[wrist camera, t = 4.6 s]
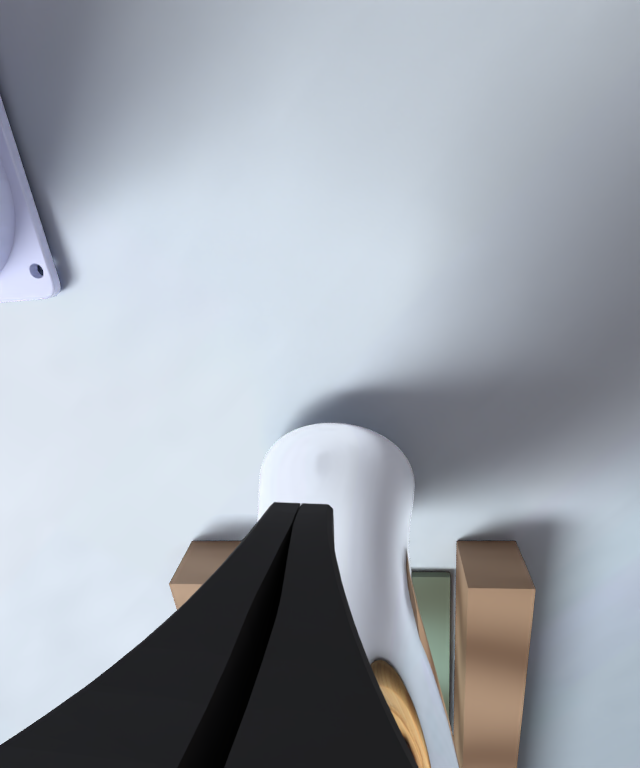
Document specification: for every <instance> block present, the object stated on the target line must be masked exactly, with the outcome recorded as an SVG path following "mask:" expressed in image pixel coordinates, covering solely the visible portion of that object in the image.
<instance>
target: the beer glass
mask: <svg viewBox="0 0 640 768" xmlns="http://www.w3.org/2000/svg"><path fill="white" fill-rule="evenodd" d="M414 490H415V483H414V474H413V471H412V468H411V465H410V463H409V461H408V459H407V458H406V456H405V455H404V453H403V452H402V451H401V450H400V449H399V448H398V447H397V446H396V445H395V444H394V443H393V442H391V441H390V440H389V439H387V438H386V437H384V436H382V435H380V434H379V433H376V432H374V431H372V430H369V429H367V428H364V427H360V426H356V425H352V424H345V423H318V424H312V425H308V426H304V427H301V428H298V429H295V430H293V431H291V432H289V433H287V434H285V435H284V436H282V437H281V438H280V439H278V440H277V441H276V442H275V443H274V444H273V445H272V446H271V447H270V449H269V450H268V452H267V453H266V455H265V457H264V459H263V462H262V465H261V470H260V477H259V494H258V514H257V522H258V521H259V519H260V518H261V517H262V515H263V514H264V513H265V512H266V510H267V509H268V508H269V506H270V505H272V504H273V503H274V502H285V503H300V506H301V504H302V503H310V504H329V505H330V506H331V507H332V508H333V516H334V544H335V554H336V559H337V563H338V567H339V571H340V576H341V580H342V584H343V587H344V591H345V594H346V598H347V601H348V604H349V607H350V610H351V614H352V617H353V620H354V623H355V626H356V628H357V631H358V634H359V637H360V640H361V642H362V645H363V647H364V650H365V652H366V655H367V658H368V660H369V663H370V665H371V667H372V670H373V672H374V675H375V677H376V679H377V682H378V684H379V686H380V689H381V691H382V693H383V695H384V697H385V700H386V702H387V704H388V706H389V708H390V710H391V712H392V714H393V716H394V718H395V721H396V723H397V725H398V727H399V729H400V731H401V733H402V735H403V737H404V739H405V742H406V744H407V746H408V748H409V750H410V752H411V754H412V756H413V758H414V759H415V761H416V763H417V765H418V767H419V768H460V766H459V762H458V757H457V753H456V748H455V744H454V739H453V735H452V730H451V726H450V722H449V719H448V715H447V711H446V707H445V703H444V699H443V696H442V692H441V688H440V684H439V680H438V677H437V673H436V669H435V665H434V661H433V658H432V654H431V650H430V647H429V643H428V639H427V636H426V632H425V628H424V625H423V621H422V617H421V613H420V609H419V605H418V601H417V597H416V592H415V588H414V584H413V578H412V571H411V564H410V555H409V533H410V523H411V515H412V508H413V501H414ZM257 522H256V523H257Z"/></svg>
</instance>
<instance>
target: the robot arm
mask: <svg viewBox="0 0 640 768" xmlns="http://www.w3.org/2000/svg"><path fill="white" fill-rule="evenodd" d="M38 265H40V266H41V267H42V269H43V276H42V275H41V274H40V273H39V272H38V270H37V266H38ZM60 288H61V286H60V281H59V278H58V275H57V271H56V268H55V265H54V262H53V259H52V256H51V253H50V249H49V246H48V243H47V240H46V237H45V234H44V231H43V228H42V224H41V221H40V218H39V215H38V212H37V209H36V206H35V203H34V199H33V196H32V193H31V190H30V187H29V184H28V181H27V177H26V174H25V171H24V168H23V165H22V162H21V159H20V156H19V152H18V149H17V146H16V143H15V140H14V137H13V134H12V130H11V127H10V124H9V121H8V118H7V115H6V112H5V109H4V105H3V102H2V99H1V96H0V303H3V302H14V301H25V300H36V299H47V298H50V297H54V296H57V294H58V293H59V292H60ZM0 768H419V767H418V765H417V763H416V761H415V759H414V758H413V756H412V754H411V752H410V750H409V748H408V746H407V744H406V742H405V739H404V737H403V735H402V733H401V731H400V729H399V727H398V725H397V723H396V721H395V718H394V716H393V714H392V712H391V710H390V708H389V706H388V704H387V702H386V700H385V697H384V695H383V693H382V691H381V689H380V686H379V684H378V682H377V679H376V677H375V675H374V672H373V670H372V667H371V665H370V663H369V660H368V658H367V655H366V652H365V650H364V647H363V645H362V642H361V640H360V637H359V634H358V631H357V628H356V626H355V623H354V620H353V617H352V614H351V610H350V607H349V604H348V601H347V598H346V594H345V591H344V587H343V584H342V580H341V576H340V571H339V567H338V563H337V559H336V554H335V544H334V516H333V508H332V507H331V506H330V505H329V504H310V503H302V504H301V506H300V503H285V502H274V503H273V504H272V505H270V506H269V508H268V509H267V510H266V512H265V513H264V514H263V515H262V517H261V518H260V519H259V521H258V522H257V523H256V524H255V526H254V527H253V528H252V529H251V531H250V532H249V533H248V534H247V535H246V537H245V538H244V539H243V540H242V542H241V543H240V544H239V545H238V546H237V547H236V548H235V550H234V551H233V552H232V553H231V554H230V555H229V556H228V558H227V559H226V560H225V561H224V562H223V563H222V564H221V566H220V567H219V568H218V569H217V570H216V571H215V572H214V573H213V574H212V575H211V576H210V577H209V578H208V579H207V581H206V582H205V583H204V584H203V585H202V586H201V587H200V588H199V589H198V590H197V591H196V592H195V593H194V594H193V595H192V596H191V597H190V598H189V599H188V600H187V601H186V602H185V603H184V604H183V605H182V606H181V607H180V608H179V609H178V610H177V611H176V612H175V613H174V614H172V615H171V616H170V617H169V618H168V619H167V620H166V621H165V622H164V623H163V624H162V625H160V626H159V627H158V628H157V629H156V630H155V631H154V632H153V633H151V634H150V635H149V636H148V637H147V638H146V639H145V640H143V641H142V642H141V643H140V644H139V645H137V646H136V647H135V648H134V649H132V650H131V651H130V652H129V653H128V654H126V655H125V656H124V657H123V658H121V659H120V660H119V661H118V662H117V663H115V664H114V665H113V666H112V667H110V668H109V669H108V670H106V671H105V672H104V673H103V674H101V675H100V676H99V677H97V678H96V679H95V680H94V681H92V682H91V683H90V684H88V685H87V686H86V687H84V688H83V689H82V690H80V691H79V692H77V693H76V694H74V695H73V696H72V697H70V698H69V699H67V700H66V701H65V702H63V703H62V704H60V705H59V706H58V707H56V708H55V709H53V710H52V711H50V712H49V713H48V714H46V715H45V716H43V717H42V718H40V719H39V720H37V721H36V722H34V723H33V724H32V725H30V726H29V727H27V728H26V729H24V730H23V731H21V732H20V733H18V734H17V735H15V736H13V737H12V738H10V739H9V740H7V741H6V742H4V743H3V744H1V745H0Z"/></svg>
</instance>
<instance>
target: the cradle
mask: <svg viewBox="0 0 640 768" xmlns="http://www.w3.org/2000/svg"><path fill="white" fill-rule="evenodd" d="M240 543H241V541H192V542H191V544H190V546H189V548H188V550H187V551H186V553H185V555H184V557H183V559H182V561H181V563H180V564H179V566H178V568H177V570H176V572H175V574H174V576H173V577H172V579H171V581H170V583H169V585H170V588H171V592H172V595H173V598H174V602H175V605H176V608H177V610H178V609H179V608H180V607H181V606H182V605H183V604H184V603H185V602H186V601H187V600H188V599H189V598H190V597H191V596H192V595H193V594H194V593H195V592H196V591H197V590H198V589H199V588H200V587H201V586H202V585H203V584H204V583H205V582H206V581H207V579H208V578H209V577H210V576H211V575H212V574H213V573H214V572H215V571H216V570H217V569H218V568H219V567H220V566H221V564H222V563H223V562H224V561H225V560H226V559H227V558H228V556H229V555H230V554H231V553H232V552H233V551H234V550H235V548H236V547H237V546H238V545H239V544H240ZM412 578H413V584H414V588H415V592H416V597H417V601H418V605H419V609H420V613H421V617H422V621H423V625H424V628H425V632H426V636H427V639H428V643H429V647H430V650H431V654H432V658H433V661H434V665H435V669H436V673H437V677H438V680H439V684H440V688H441V692H442V696H443V699H444V703H445V707H446V711H447V715H448V719H449V656H450V574H449V572H412ZM535 590H536V589H535V586H534V584H533V582H532V579H531V577H530V574H529V572H528V570H527V567H526V565H525V562H524V560H523V558H522V555H521V553H520V550H519V548H518V546H517V543H516V541H457V550H456V612H455V674H454V736H453V739H454V744H455V748H456V753H457V757H458V762H459V766H460V768H517V760H518V751H519V741H520V732H521V722H522V713H523V704H524V694H525V685H526V675H527V666H528V656H529V647H530V637H531V628H532V619H533V609H534V600H535Z"/></svg>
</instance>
